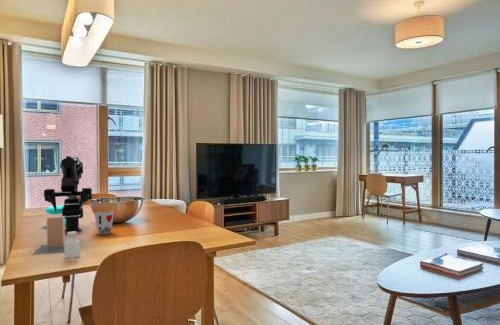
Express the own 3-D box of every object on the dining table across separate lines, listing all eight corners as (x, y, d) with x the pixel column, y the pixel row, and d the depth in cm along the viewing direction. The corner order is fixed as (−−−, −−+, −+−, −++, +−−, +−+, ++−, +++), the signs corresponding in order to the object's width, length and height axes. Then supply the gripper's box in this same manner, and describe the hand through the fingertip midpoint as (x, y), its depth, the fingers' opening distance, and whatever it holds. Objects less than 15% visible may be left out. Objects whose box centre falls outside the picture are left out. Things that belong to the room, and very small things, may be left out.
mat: (42, 246, 145) (42, 245, 145) (74, 244, 149) (74, 243, 149) (31, 255, 132) (31, 254, 132) (66, 253, 135) (66, 252, 135)
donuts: (57, 204, 192) (71, 205, 189) (57, 223, 192) (72, 224, 189) (41, 207, 182) (56, 208, 179) (41, 226, 183) (56, 228, 180)
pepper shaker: (63, 258, 128) (63, 232, 128) (72, 255, 132) (72, 230, 132) (72, 260, 127) (71, 233, 127) (81, 257, 131) (80, 231, 130)
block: (48, 246, 144) (48, 216, 144) (64, 245, 146) (64, 216, 145) (47, 247, 142) (46, 217, 142) (63, 246, 144) (63, 217, 143)
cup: (95, 236, 163) (95, 214, 163) (94, 232, 170) (94, 212, 170) (114, 234, 167) (114, 213, 166) (112, 230, 174) (112, 210, 174)
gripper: (43, 170, 151) (40, 201, 142) (91, 170, 158) (91, 198, 149) (46, 186, 159) (43, 215, 150) (92, 184, 166) (91, 213, 157)
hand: (67, 210), depth 151 cm, fingers open, 9 cm apart
